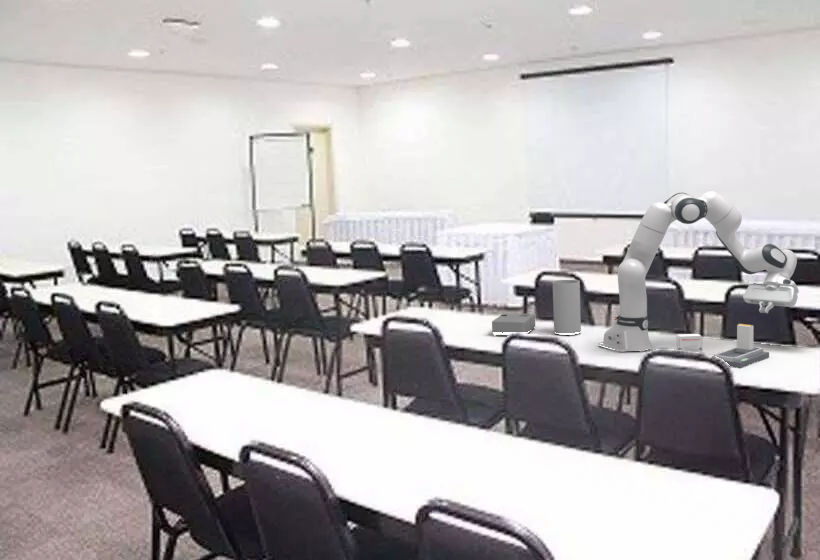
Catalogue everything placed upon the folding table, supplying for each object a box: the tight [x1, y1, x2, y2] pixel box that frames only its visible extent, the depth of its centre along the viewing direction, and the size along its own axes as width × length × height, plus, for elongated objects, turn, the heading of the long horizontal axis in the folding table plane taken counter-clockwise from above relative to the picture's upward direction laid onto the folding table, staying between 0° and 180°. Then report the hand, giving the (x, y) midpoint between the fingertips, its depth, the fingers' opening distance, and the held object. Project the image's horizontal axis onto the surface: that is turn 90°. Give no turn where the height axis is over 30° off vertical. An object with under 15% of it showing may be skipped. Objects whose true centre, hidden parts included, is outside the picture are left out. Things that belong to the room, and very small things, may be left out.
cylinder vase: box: [552, 279, 582, 333], centre depth 351 cm, size 12×12×25 cm
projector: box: [491, 312, 536, 333], centre depth 362 cm, size 17×22×8 cm
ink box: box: [675, 333, 703, 354], centre depth 284 cm, size 9×5×12 cm, turn 84°
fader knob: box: [735, 323, 755, 353], centre depth 289 cm, size 6×4×11 cm, turn 38°
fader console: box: [713, 346, 770, 369], centre depth 287 cm, size 13×22×3 cm, turn 128°
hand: (763, 312), depth 297 cm, fingers closed
